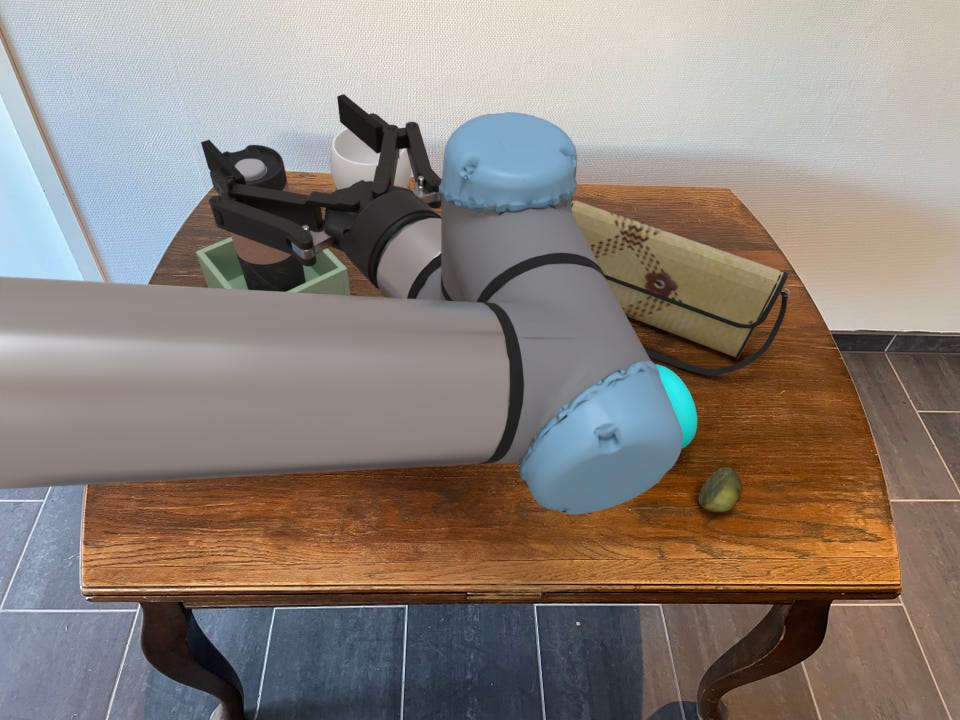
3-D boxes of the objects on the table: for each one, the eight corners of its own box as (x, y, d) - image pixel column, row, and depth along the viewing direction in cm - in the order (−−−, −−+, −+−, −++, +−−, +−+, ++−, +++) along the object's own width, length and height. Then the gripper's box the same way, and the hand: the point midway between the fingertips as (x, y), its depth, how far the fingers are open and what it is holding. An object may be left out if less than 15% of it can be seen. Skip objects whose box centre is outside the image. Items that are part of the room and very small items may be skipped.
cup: (336, 257, 97) (323, 166, 85) (342, 209, 104) (331, 119, 92) (412, 258, 98) (409, 168, 86) (413, 211, 104) (411, 121, 93)
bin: (257, 353, 85) (246, 315, 80) (208, 290, 92) (195, 251, 86) (351, 306, 91) (347, 268, 86) (299, 250, 97) (292, 211, 92)
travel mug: (295, 320, 88) (266, 190, 73) (239, 308, 89) (198, 177, 73) (317, 280, 93) (295, 150, 77) (264, 269, 94) (231, 138, 78)
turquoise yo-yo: (687, 460, 79) (714, 409, 71) (614, 494, 75) (635, 444, 68) (636, 396, 84) (657, 343, 76) (566, 425, 81) (581, 372, 73)
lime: (700, 521, 74) (715, 499, 70) (687, 481, 77) (700, 458, 73) (739, 518, 74) (756, 496, 70) (725, 479, 77) (740, 455, 73)
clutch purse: (527, 309, 93) (541, 220, 81) (547, 277, 97) (563, 189, 85) (746, 395, 85) (796, 311, 74) (758, 357, 89) (806, 272, 78)
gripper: (276, 360, 51) (158, 212, 61) (526, 233, 62) (392, 124, 72) (257, 288, 45) (130, 137, 55) (536, 161, 56) (388, 54, 66)
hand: (278, 129), depth 64 cm, fingers open, 13 cm apart
